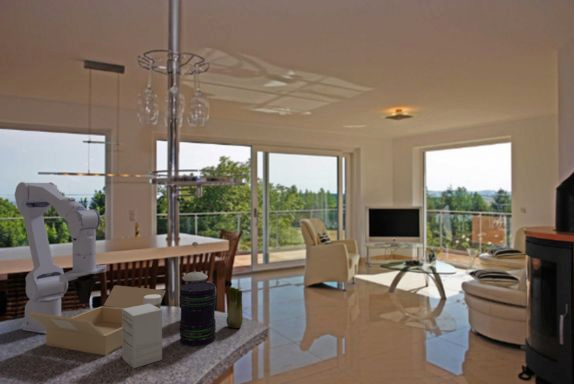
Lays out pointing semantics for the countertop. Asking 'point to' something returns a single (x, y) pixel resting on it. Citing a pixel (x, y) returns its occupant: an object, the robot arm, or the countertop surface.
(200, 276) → the french press
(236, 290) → the fennel bulb
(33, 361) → the countertop surface
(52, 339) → the carton
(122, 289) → the flap
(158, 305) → the sprinkles bottle
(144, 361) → the supplement box
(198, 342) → the storage jar
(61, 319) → the flap
